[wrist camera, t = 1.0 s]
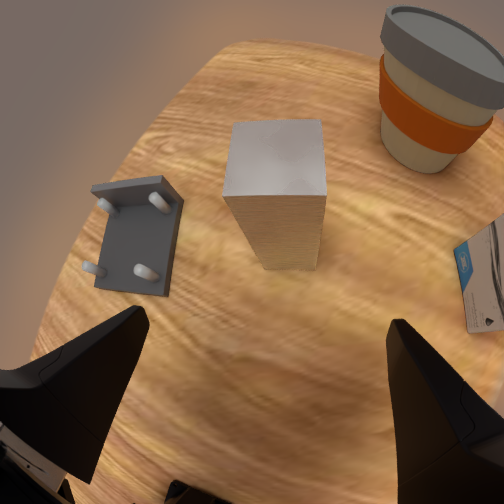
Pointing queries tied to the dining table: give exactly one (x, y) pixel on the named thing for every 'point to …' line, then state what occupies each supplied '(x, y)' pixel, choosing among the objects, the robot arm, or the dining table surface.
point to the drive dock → (137, 235)
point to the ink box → (483, 278)
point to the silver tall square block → (278, 189)
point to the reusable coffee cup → (435, 87)
